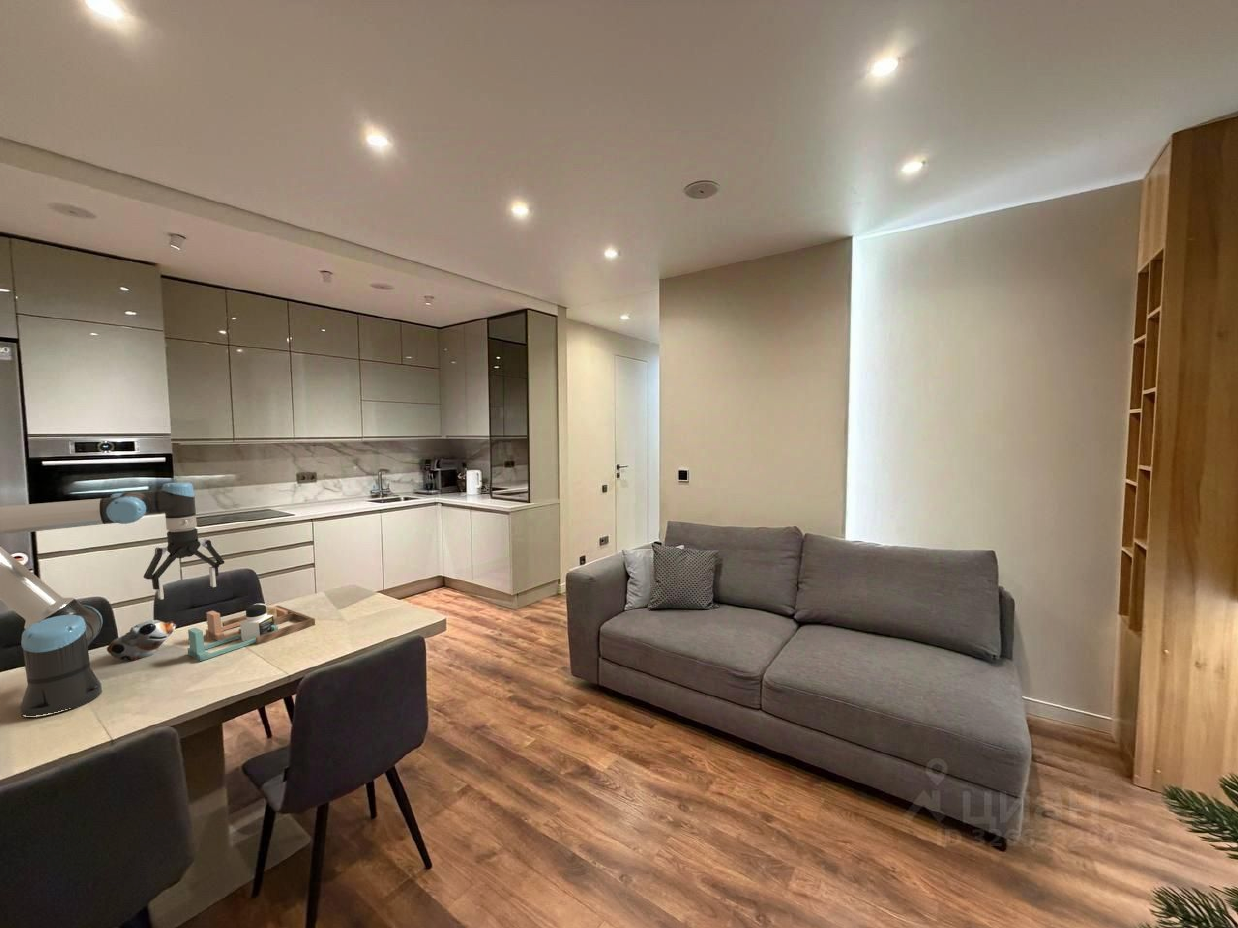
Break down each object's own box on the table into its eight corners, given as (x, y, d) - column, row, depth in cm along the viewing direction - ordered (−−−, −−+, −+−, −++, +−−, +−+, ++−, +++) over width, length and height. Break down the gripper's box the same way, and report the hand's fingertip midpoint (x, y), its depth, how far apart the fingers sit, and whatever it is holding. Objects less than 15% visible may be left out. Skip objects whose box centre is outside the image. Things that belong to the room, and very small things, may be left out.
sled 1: (218, 640, 176) (215, 616, 175) (206, 634, 181) (203, 611, 180) (288, 618, 195) (286, 596, 194) (275, 613, 200) (273, 592, 200)
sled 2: (200, 661, 160) (197, 634, 160) (188, 653, 166) (185, 628, 165) (278, 634, 180) (276, 610, 179) (264, 628, 185) (262, 605, 185)
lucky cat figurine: (151, 642, 176) (170, 607, 177) (168, 660, 172) (188, 624, 173) (97, 648, 162) (119, 610, 163) (115, 668, 158) (137, 629, 159)
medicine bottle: (260, 641, 175) (258, 609, 174) (241, 641, 176) (238, 609, 175) (275, 632, 183) (272, 601, 182) (256, 633, 183) (253, 601, 182)
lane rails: (258, 644, 173) (257, 637, 172) (222, 628, 187) (222, 622, 187) (315, 624, 189) (314, 618, 189) (278, 611, 204) (278, 605, 203)
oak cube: (264, 625, 190) (263, 612, 190) (255, 623, 192) (254, 610, 191) (277, 620, 195) (276, 607, 194) (268, 618, 196) (267, 606, 196)
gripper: (133, 538, 148) (140, 606, 150) (232, 523, 169) (237, 583, 171) (126, 535, 153) (133, 601, 154) (223, 521, 173) (228, 579, 175)
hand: (188, 592), depth 163 cm, fingers open, 13 cm apart
